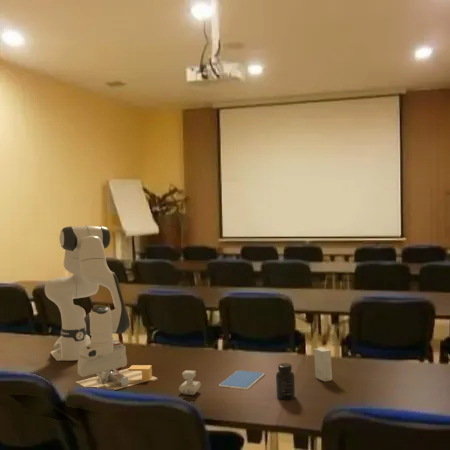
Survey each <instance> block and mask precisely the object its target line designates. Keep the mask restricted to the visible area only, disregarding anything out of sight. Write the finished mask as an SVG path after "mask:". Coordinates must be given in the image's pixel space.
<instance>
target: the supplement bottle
mask: <svg viewBox="0 0 450 450" xmlns="http://www.w3.org/2000/svg"><path fill="white" fill-rule="evenodd" d="M277 366H278V367H277V368H278V369H277V372H276V373H275V386H276V388H275V389H276V398H278V399H280V400H283V401H288V400H289V401H290V400H293V399H294V398H295V397H296V385H295V384H296V383H295V382H296V379H295V373H294V372H293V371H292V370H293V368H292V364H291V363H288V362H287V363H286V362H283V363H281V362H280V363H279V364H278V365H277Z"/></svg>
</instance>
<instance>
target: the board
mask: <svg viewBox="0 0 450 450" xmlns="http://www.w3.org/2000/svg"><path fill="white" fill-rule="evenodd" d="M129 368H130V367H129ZM129 368H125V369H121V370H120V369H119V370H118V371H119V373H120V374H122V375H124V376H126V377H128V385H127V386H123V387H121V386H119V385H117V384H115V383H113V382H110V381H107V382H103V383H100V382H99V378H98V376H97V375H96V376H93V377H89V378H86V379H82V380H81V379H80V380H78V381H75V382H76V384H78V385H80V386H82V387H84V388H86V387H97V388H107V389H114V390H113V391H115V390H120V389H124V388H127V387H130V386H134V385H137V384H142V383H144V382H149V381H153V382H156V381H158V377H156V376H153V375H152V377H151V379H150V380H142V371H129V370H128V369H129Z"/></svg>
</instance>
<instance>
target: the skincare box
mask: <svg viewBox="0 0 450 450" xmlns="http://www.w3.org/2000/svg"><path fill="white" fill-rule="evenodd" d="M331 351H332V350H330V349H327V348H324V347H323V346H322V347H321V346H320V347H315V348H313V355H314V371H315V372H314V373H315V378H316V379H318V380H320V381H322V382H330V381H333V373H332V372H333V371H332V352H331Z"/></svg>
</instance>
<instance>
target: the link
mask: <svg viewBox="0 0 450 450" xmlns="http://www.w3.org/2000/svg"><path fill="white" fill-rule="evenodd" d="M119 371H120V370H119V369H112V370H111V372H110V374H109V376H108V381H110V382H113V383H115V384H117V385H119V386H121V387H123V386H127V385H128V377H126V376H124V375H122V374H120V373H119ZM105 373H106V372H105V371H104V372H102V375H101V377H104V376H105ZM127 387H128V386H127Z"/></svg>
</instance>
